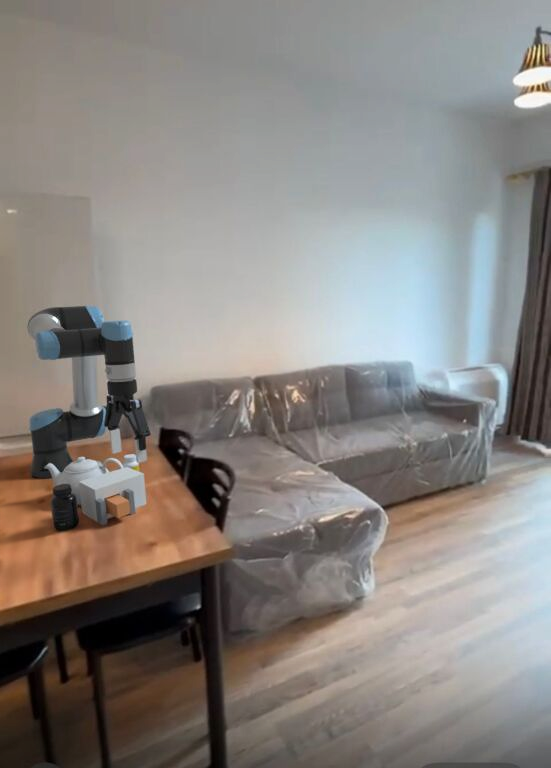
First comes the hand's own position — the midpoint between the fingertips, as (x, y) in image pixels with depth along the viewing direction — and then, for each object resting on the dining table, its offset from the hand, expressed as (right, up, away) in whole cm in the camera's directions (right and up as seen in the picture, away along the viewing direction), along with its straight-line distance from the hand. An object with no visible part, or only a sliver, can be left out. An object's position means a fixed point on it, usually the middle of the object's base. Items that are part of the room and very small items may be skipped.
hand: (128, 456), depth 132 cm
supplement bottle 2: (-10, -15, +38) cm, 42 cm away
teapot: (-22, -17, +27) cm, 39 cm away
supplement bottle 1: (-20, -21, +6) cm, 29 cm away
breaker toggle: (-6, -18, +9) cm, 21 cm away
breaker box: (-8, -19, +16) cm, 26 cm away
